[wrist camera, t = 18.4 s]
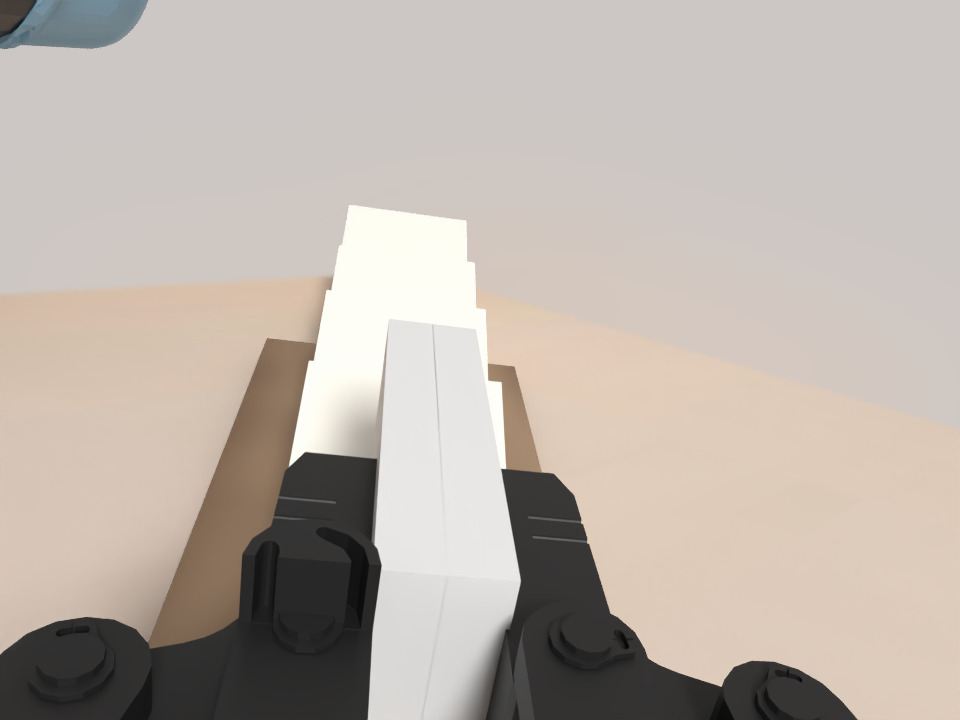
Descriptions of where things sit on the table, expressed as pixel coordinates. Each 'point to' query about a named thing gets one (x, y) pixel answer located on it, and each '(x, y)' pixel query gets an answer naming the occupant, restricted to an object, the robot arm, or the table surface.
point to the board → (271, 489)
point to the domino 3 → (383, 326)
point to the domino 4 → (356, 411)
